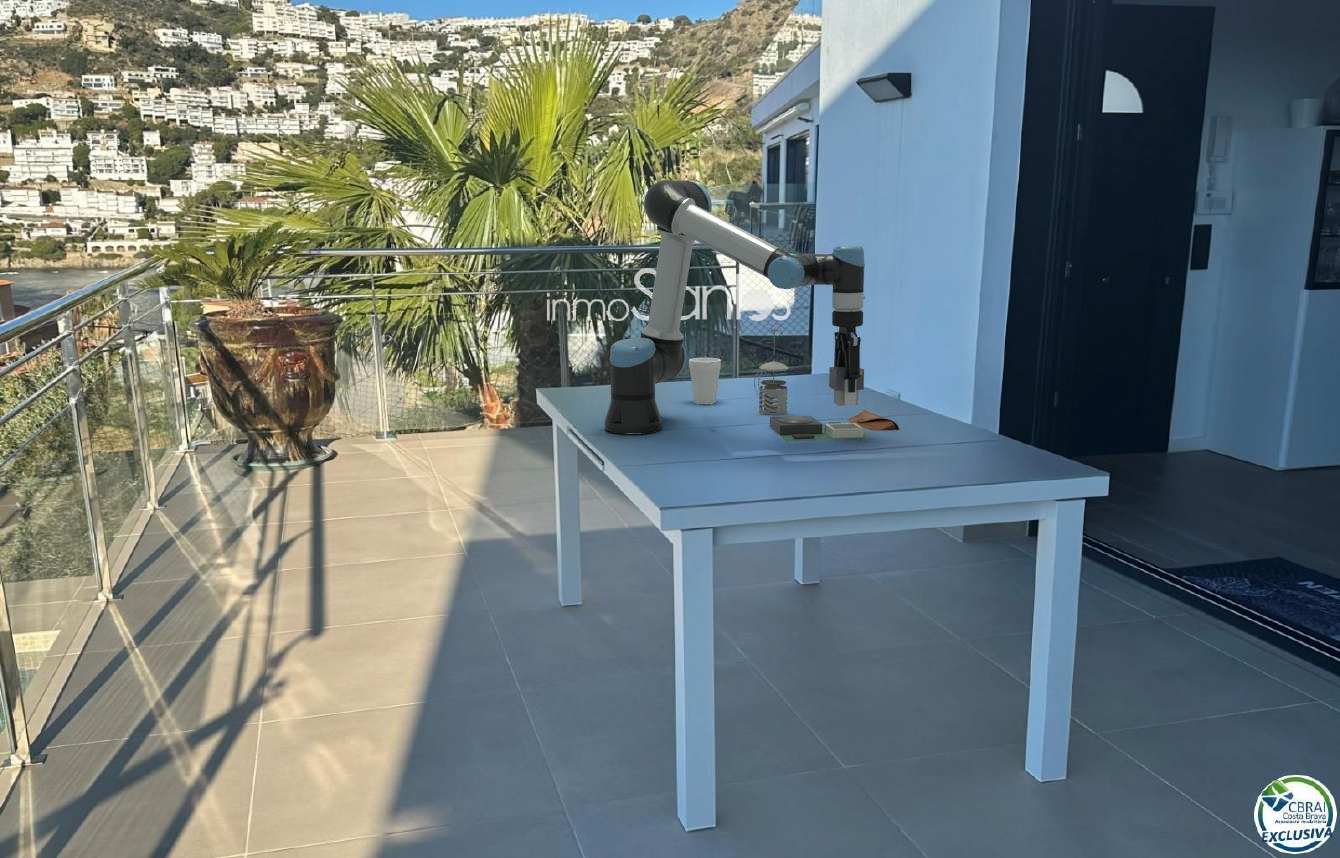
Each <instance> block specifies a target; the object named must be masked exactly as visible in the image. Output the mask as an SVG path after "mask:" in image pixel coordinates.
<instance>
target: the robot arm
mask: <svg viewBox="0 0 1340 858" xmlns="http://www.w3.org/2000/svg"><path fill="white" fill-rule="evenodd" d="M712 205H713V204H712V198H711V196H710V193H709V192H708V191H707V189H706V188H705V187H704V186H703V185H701V184H700V183H697V182H695V181H690V180H685V179H683V180H672V179H668V180H667V179H665V180H660V181H657V182H655V183H654V184H652V185H651V186H650V187H649V188H648V190H647V191H646V194H645V196H644V200H643V209H644V211H645V214H646V216H647V218H648V219H649V221H650V222H651V223H653V224H654V225H656V231H657V232H658V234H659V235H660V242H659V248H658V249H659V250H658V255H657V263H656V269H655V278H654V282H653V289H652V290H653V291H652V294H651V295H652V297H651V303H650V307H649V308H650V309H649V316H648V323H647V325H646V326H645V327H643V328H642V329H641V332H640V337H631V338H628V339H627V338H626V339H625V338H624V339H620V340H618V341H615V342H614V343H613V344H612V345H611V346H610V352H609V354H610V355H609V365H610V368H609V371H610V375H609V376H610V402H609V406H608V409H607V412H606V415H605V420H604V430H605V429H606V430H607V432H608V431H610V432H609V433H612V432H614V433H613V434H618V433H646V434H651V433H650V432H653V433H656V432H655V431H657V432H659V431H661V430H662V429H663V420H662V417H661V413H660V411H659V407H658V404H657V402H656V384H659V383H663V382H664V383H665V382H669V381H671V380H673V379H675V378H676V377H678V376H679V375H680V374H681V373H682V372H683V371H684V369H685V368H686V365H687V360H688V355H687V350H686V348H685V347H684V346H685V345H684V344H683V343H684V338H685V337H684V335H683V333H682V332H681V331H680V326H681V321H682V314H683V308H684V303H685V296H686V295H685V294H686V289H687V282H688V276H689V270H690V264H691V258H692V252H693V245H694V242H695V241H696V242H699V243H700V244H701V245H704V246H706V247H708V248H710V249H711V250H713V251H715V252H717V253H719V254H720V255H723V256H725V257H727V258H729V259H730V260H733V261H735V262H736V263H738V264H740V265H741V266H744V267H746V268H747V269H750V270H751V271H753V272H756V273H757V274H759V275H761V276H763V277H764V278H767V279H768V280H769V282H770V283H771V284H772V286H774V287H775V288H777V289H781V290H791V289H795V288H799V287H805V286H812V285H813V286H817V285H818V286H822V285H823V286H826V285H827V286H831V287H832V292H831V294H832V295H831V308H832V309H833V310H832V312H831V317H832V318H831V324H832V326H834V327H837V328H838V331H835V332H834V333H833V334H834V335H833V336H834V357H833V362H834V363H833V367H846V377H843V378H844V380H845V393H844V405H845V407H846V406H847V405H848V406H857V405H856V379H857V378H859V377H860V368H861V357H860V356H861V355H860V354H861V341H862V339H861V336H858V334H857V330H856V329H857V327H862V326H863V324H864V312H863V310H862V309H863V308H864V301H865V300H866V296H865V295H864V293H865V291H864V289H865V288H864V287H865V266H866V264H865V250H864V248H863V246H860V245H835V246H834V247H833V248H832V249H833V250H832V253H828V254H827V253H826V254H820V253H795V254H791V253H789V252H787V251H786V250H783V249H781V248H780V247H779V246H778V247H777V246H776V245H774V244H771V243H770V242H768V241H766V240H764V239H762V238H760V237H759V236H756V235H754V234H752V233H750V232H749V231H746V230H745V229H743V228H741V227H739V226H737V225H735V224H733V223H730V222H729V221H727V220H725V219H723V218H721V217H719V216H717V215H716V214H713V213H712ZM661 428H662V429H661ZM660 429H661V430H660ZM606 430H605V431H606ZM658 430H659V431H658Z"/></svg>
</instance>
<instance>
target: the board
mask: <svg viewBox="0 0 1340 858" xmlns="http://www.w3.org/2000/svg"><path fill="white" fill-rule="evenodd" d="M837 423H841V421H836V422H835V421H830V422H828V424H837ZM825 424H826V423H824V424H823V426H822V434H794V435H779V437H781V438H782V439H783V440H784V441H785V442H807V441H809V442H811V441H812V442H813V441H815V442H816V441H834V440H835V441H838V440H865V439H866V440H867V439H868V440H871V439H873V436H871V435H869V434H868V433H866V432H865V431H864V437H855V438H831V437H830V436H829V435H827V434H826V433H825V432H824V431H825ZM774 432H775V433H777V432H776V431H774ZM777 434H778V433H777Z"/></svg>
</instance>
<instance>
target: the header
mask: <svg viewBox="0 0 1340 858" xmlns="http://www.w3.org/2000/svg"><path fill="white" fill-rule="evenodd" d="M824 424H825V431H824V432H825V433H826V434H827V435H829V436H830V437H831V438H855V437H864V432H865V428H863V427H861V426H859V425H858V424H856V423H851V422H846V423H845V422H840V423H837V424H829V423H824Z"/></svg>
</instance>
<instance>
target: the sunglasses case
mask: <svg viewBox="0 0 1340 858" xmlns="http://www.w3.org/2000/svg"><path fill="white" fill-rule="evenodd" d="M847 422H848V423H856V424H858V425H859V426H861V427H862V428H864V430H869V431H876V432H877V431H878V432H881V431H884V432H885V431H897V430H898V431H900V427H899V425H898V424H897V422H895V421H894V420H892V419H890V418H887V417H886V418H885V417H883V416H880V415H878V414H876V413H872V412H869V411H867V410H866V409H863V410H862V411H861V412H859V413H858V414H855V415H854V416H852V417H850V418H848V419H847Z"/></svg>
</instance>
